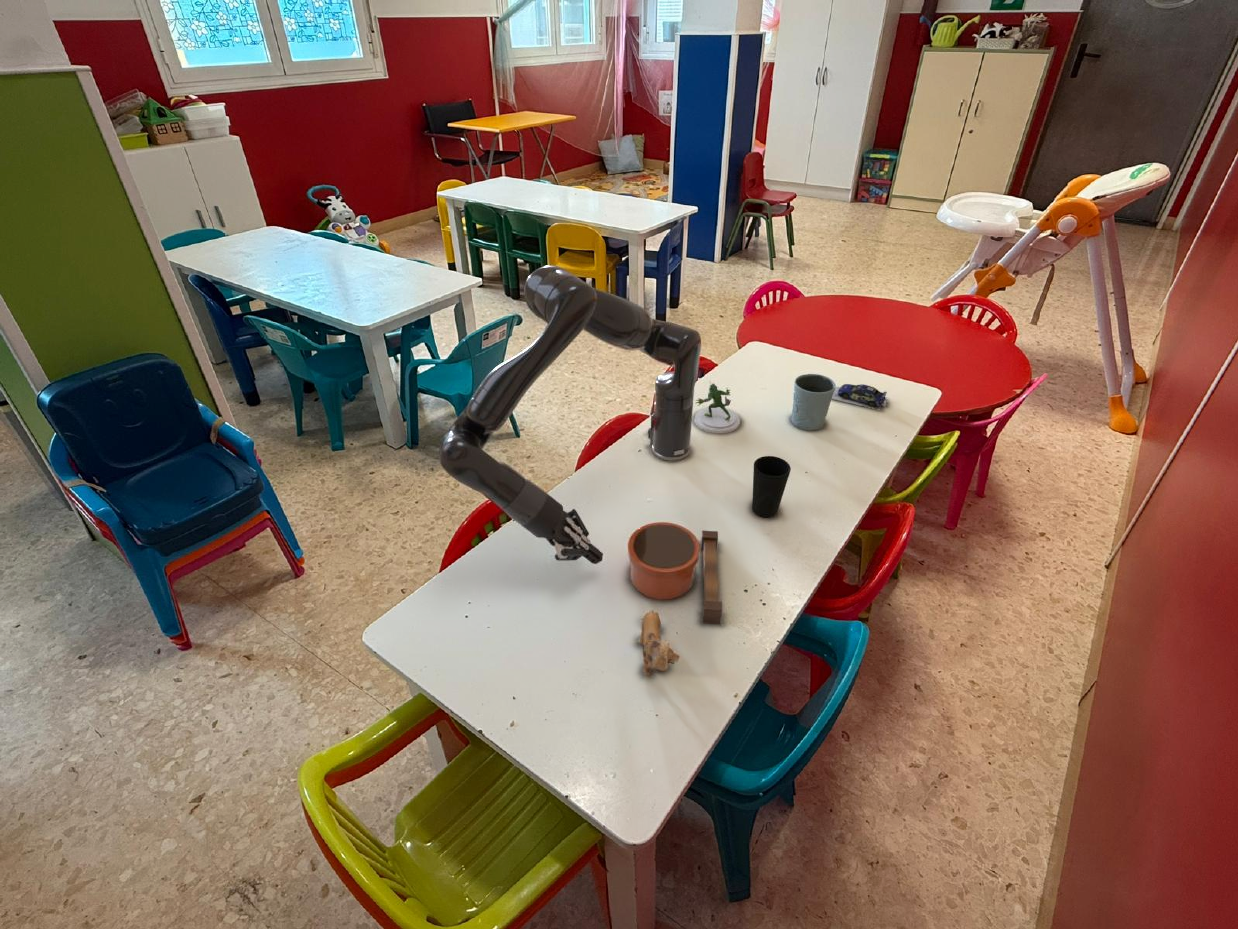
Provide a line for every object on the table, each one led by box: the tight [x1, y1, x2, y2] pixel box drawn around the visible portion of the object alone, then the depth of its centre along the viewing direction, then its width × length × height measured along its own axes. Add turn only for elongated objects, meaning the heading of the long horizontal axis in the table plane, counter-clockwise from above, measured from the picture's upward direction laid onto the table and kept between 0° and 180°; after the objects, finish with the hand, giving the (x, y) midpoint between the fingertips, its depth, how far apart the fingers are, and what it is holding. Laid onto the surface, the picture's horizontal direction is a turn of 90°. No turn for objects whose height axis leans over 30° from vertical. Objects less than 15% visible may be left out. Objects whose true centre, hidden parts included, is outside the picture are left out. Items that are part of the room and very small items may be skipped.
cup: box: [751, 455, 792, 519], centre depth 137 cm, size 8×8×12 cm
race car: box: [831, 383, 888, 412], centre depth 178 cm, size 15×7×4 cm, turn 63°
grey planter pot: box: [791, 373, 837, 431], centre depth 166 cm, size 10×10×12 cm
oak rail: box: [700, 530, 723, 625], centre depth 122 cm, size 21×3×4 cm, turn 175°
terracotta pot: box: [627, 521, 701, 600], centre depth 122 cm, size 14×14×8 cm
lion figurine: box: [637, 609, 681, 676], centre depth 107 cm, size 15×5×9 cm, turn 13°
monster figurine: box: [694, 380, 741, 434], centre depth 167 cm, size 12×12×10 cm
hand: (599, 559), depth 122 cm, fingers closed
